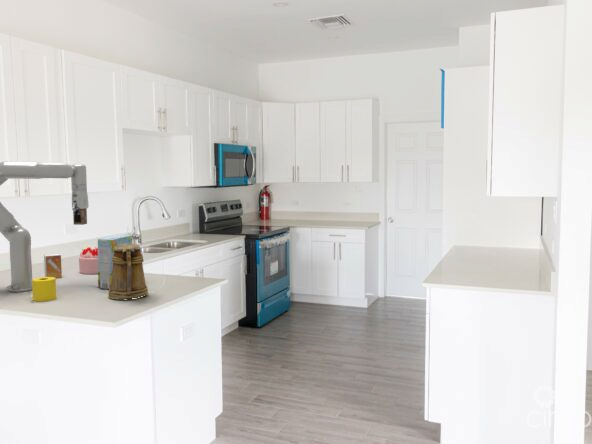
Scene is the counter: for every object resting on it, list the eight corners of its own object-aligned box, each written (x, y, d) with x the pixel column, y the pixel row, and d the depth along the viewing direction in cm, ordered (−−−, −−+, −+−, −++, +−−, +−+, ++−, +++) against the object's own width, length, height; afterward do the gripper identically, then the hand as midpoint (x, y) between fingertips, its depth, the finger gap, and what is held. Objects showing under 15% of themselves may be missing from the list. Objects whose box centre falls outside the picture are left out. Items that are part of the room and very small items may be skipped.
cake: (75, 270, 320) (74, 247, 318) (108, 267, 332) (108, 244, 330) (85, 276, 304) (83, 251, 303) (119, 271, 316) (118, 248, 315)
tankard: (144, 290, 267) (142, 241, 265) (152, 300, 246) (151, 247, 243) (106, 293, 259) (104, 243, 257) (111, 304, 238) (109, 250, 236)
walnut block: (82, 224, 281) (82, 209, 280) (73, 224, 282) (73, 209, 281) (87, 223, 286) (86, 209, 285) (78, 223, 286) (77, 208, 286)
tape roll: (33, 297, 253) (32, 278, 252) (56, 295, 257) (55, 276, 256) (32, 302, 244) (31, 282, 243) (56, 299, 248) (55, 280, 247)
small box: (46, 279, 295) (45, 256, 294) (44, 277, 300) (43, 254, 299) (62, 277, 299) (61, 254, 298) (60, 275, 305) (59, 253, 303)
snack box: (113, 289, 268) (111, 239, 266) (97, 289, 270) (95, 239, 267) (134, 281, 289) (132, 234, 287) (119, 280, 291) (118, 234, 289)
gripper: (78, 188, 273) (79, 223, 275) (93, 187, 290) (94, 220, 292) (64, 188, 274) (65, 223, 276) (80, 187, 291) (81, 220, 292)
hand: (80, 221), depth 284 cm, fingers closed on walnut block, 5 cm apart
